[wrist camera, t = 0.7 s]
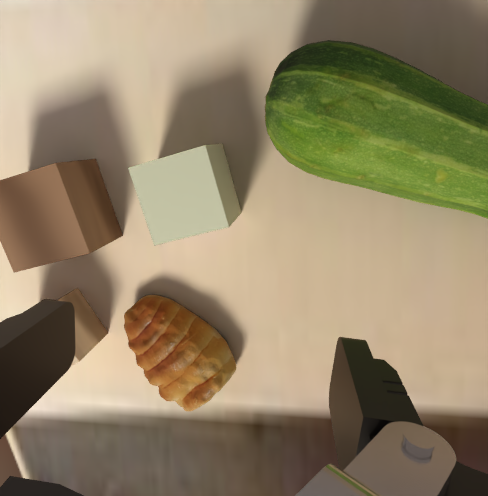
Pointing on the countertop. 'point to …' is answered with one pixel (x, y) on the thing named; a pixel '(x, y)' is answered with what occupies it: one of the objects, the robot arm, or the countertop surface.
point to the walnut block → (55, 214)
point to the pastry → (178, 351)
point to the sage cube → (186, 193)
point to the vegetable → (379, 126)
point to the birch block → (84, 325)
